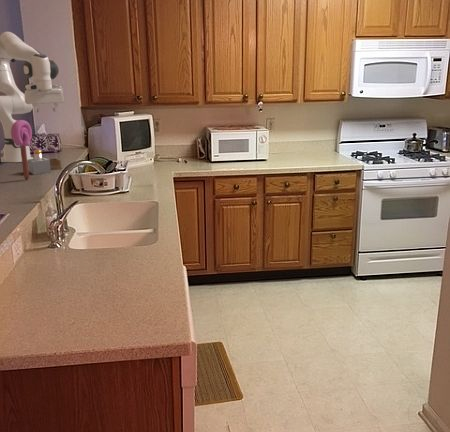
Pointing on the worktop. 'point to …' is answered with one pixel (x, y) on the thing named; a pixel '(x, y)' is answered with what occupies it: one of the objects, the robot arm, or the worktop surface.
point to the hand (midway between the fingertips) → (45, 111)
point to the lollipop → (22, 141)
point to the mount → (55, 164)
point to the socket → (39, 166)
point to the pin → (38, 155)
